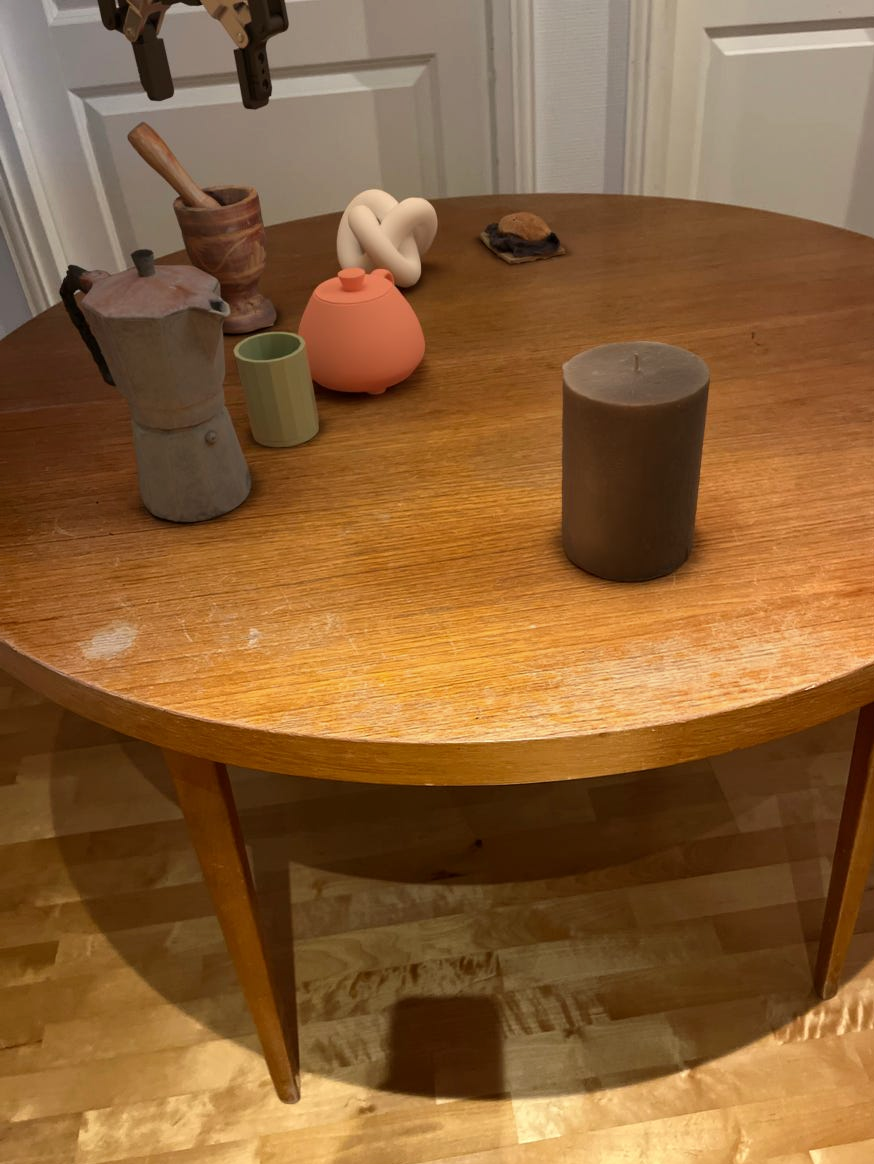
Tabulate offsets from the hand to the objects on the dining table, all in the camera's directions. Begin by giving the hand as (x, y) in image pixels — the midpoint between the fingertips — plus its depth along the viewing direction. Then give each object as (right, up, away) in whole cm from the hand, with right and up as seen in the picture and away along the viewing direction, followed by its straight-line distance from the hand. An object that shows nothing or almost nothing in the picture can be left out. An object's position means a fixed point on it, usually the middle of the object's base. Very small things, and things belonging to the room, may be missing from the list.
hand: (209, 103), depth 71 cm
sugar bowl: (+9, -12, +26) cm, 30 cm away
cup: (+2, -20, +18) cm, 27 cm away
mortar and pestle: (-8, -4, +37) cm, 38 cm away
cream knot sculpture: (+10, +4, +45) cm, 46 cm away
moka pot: (-4, -27, +10) cm, 29 cm away
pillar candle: (+30, -32, +2) cm, 44 cm away
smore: (+25, +10, +51) cm, 57 cm away
